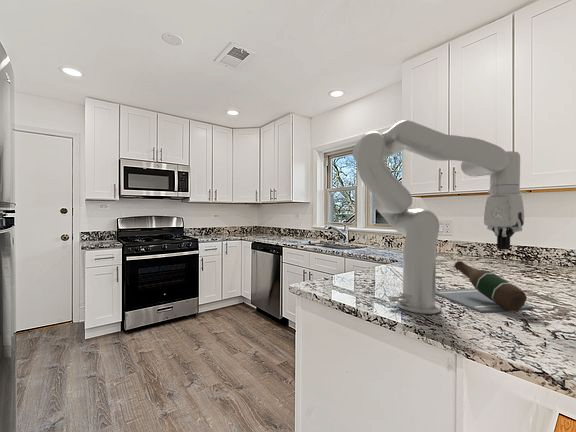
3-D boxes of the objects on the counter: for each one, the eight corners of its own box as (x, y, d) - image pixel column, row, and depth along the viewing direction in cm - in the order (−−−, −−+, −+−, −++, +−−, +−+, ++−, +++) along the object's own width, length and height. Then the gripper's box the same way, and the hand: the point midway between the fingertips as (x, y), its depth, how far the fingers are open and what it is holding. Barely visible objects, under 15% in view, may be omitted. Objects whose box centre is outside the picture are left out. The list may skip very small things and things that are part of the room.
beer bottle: (527, 287, 84) (465, 252, 106) (504, 296, 84) (447, 259, 106) (527, 307, 87) (467, 269, 109) (505, 316, 86) (449, 276, 109)
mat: (480, 312, 86) (480, 310, 86) (430, 292, 107) (430, 290, 107) (533, 308, 90) (533, 306, 90) (474, 290, 111) (474, 288, 111)
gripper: (474, 192, 96) (473, 246, 96) (518, 189, 81) (517, 252, 81) (492, 193, 97) (491, 246, 97) (539, 190, 82) (538, 252, 83)
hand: (503, 249), depth 89 cm, fingers closed
